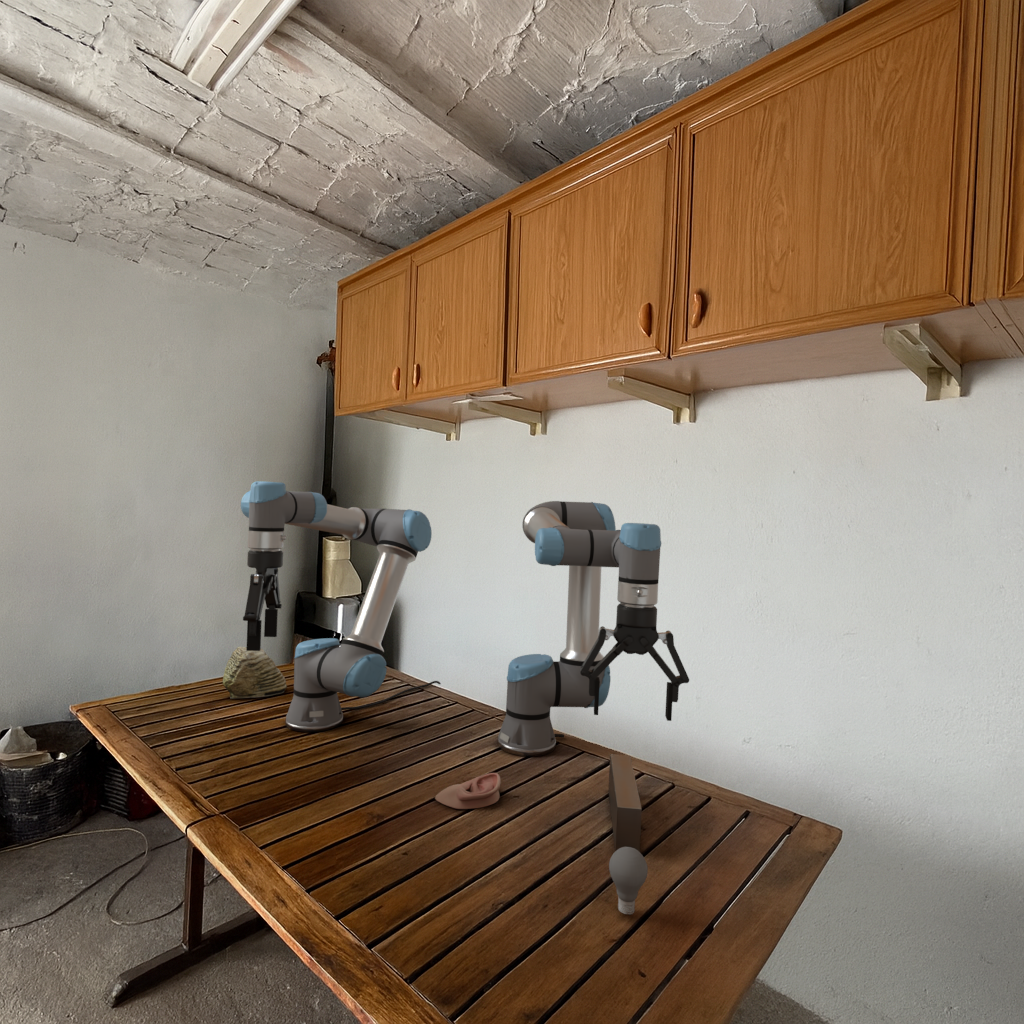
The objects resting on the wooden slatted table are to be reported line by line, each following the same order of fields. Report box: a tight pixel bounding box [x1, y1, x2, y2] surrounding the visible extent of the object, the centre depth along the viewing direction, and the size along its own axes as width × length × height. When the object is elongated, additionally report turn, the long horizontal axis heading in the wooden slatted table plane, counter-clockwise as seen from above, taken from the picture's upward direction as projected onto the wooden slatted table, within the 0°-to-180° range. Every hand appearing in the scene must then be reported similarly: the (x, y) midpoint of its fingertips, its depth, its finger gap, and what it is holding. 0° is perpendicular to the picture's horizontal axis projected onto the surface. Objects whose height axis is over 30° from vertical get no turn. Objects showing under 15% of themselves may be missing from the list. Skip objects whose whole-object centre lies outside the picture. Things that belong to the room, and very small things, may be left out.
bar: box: [607, 753, 643, 853], centre depth 129 cm, size 25×4×9 cm, turn 174°
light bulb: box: [608, 847, 649, 915], centre depth 100 cm, size 6×6×10 cm
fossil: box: [222, 646, 288, 699], centre depth 198 cm, size 9×18×15 cm, turn 132°
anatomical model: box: [434, 772, 502, 810], centre depth 136 cm, size 13×4×12 cm
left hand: (262, 643), depth 143 cm, fingers open, 13 cm apart
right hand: (631, 715), depth 121 cm, fingers open, 13 cm apart
